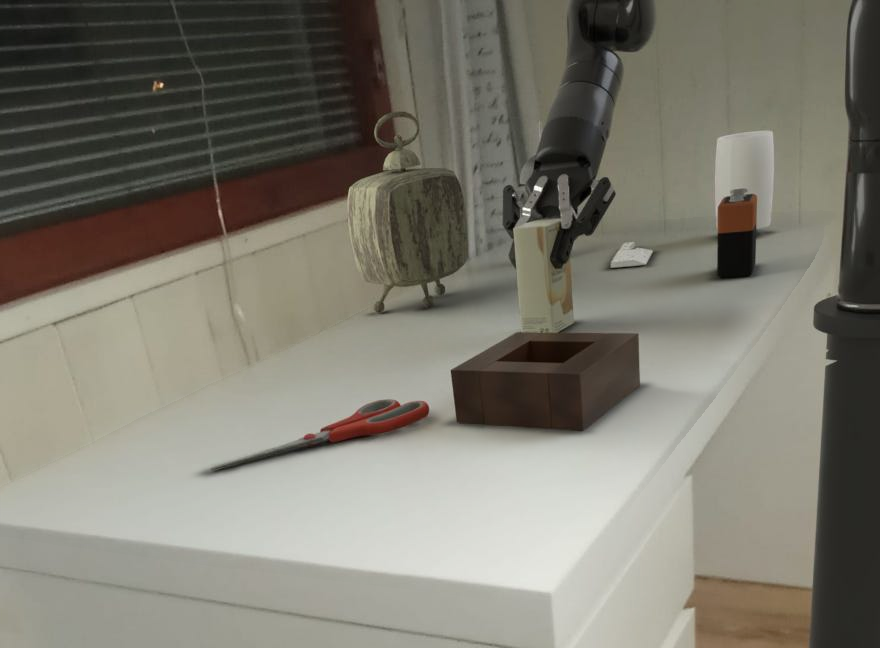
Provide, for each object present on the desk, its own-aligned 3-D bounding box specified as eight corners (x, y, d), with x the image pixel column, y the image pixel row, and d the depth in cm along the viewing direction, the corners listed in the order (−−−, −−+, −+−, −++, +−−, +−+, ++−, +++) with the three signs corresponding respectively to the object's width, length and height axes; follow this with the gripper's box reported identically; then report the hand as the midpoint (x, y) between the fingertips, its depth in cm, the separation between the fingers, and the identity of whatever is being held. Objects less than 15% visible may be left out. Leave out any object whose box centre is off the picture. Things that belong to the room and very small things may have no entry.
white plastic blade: (656, 245, 156) (656, 238, 155) (645, 266, 143) (645, 258, 143) (623, 248, 157) (623, 240, 157) (609, 268, 145) (609, 260, 145)
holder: (640, 385, 94) (638, 333, 92) (583, 431, 85) (579, 374, 83) (520, 381, 101) (516, 332, 99) (456, 422, 92) (450, 369, 90)
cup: (782, 229, 153) (785, 128, 147) (756, 240, 148) (758, 136, 142) (730, 230, 159) (731, 132, 152) (704, 241, 154) (704, 141, 147)
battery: (755, 265, 133) (757, 185, 129) (752, 276, 128) (753, 193, 123) (721, 268, 135) (722, 189, 130) (716, 279, 129) (717, 197, 125)
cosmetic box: (554, 336, 115) (546, 226, 110) (520, 336, 117) (510, 228, 112) (576, 322, 120) (569, 215, 114) (543, 322, 122) (535, 217, 116)
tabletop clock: (444, 292, 148) (422, 106, 136) (481, 297, 141) (461, 101, 129) (362, 315, 142) (331, 122, 130) (396, 321, 135) (367, 118, 123)
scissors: (208, 470, 90) (205, 455, 90) (393, 405, 100) (391, 391, 100) (248, 488, 85) (244, 472, 84) (440, 417, 94) (438, 403, 94)
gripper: (508, 120, 117) (468, 248, 114) (622, 106, 109) (582, 243, 107) (532, 162, 123) (494, 285, 121) (642, 152, 116) (604, 282, 113)
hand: (536, 264), depth 114 cm, fingers closed on cosmetic box, 4 cm apart
